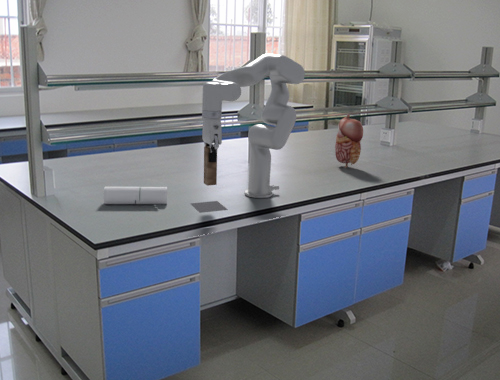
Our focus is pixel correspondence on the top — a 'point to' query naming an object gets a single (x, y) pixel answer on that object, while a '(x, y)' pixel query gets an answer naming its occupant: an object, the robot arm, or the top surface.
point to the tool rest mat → (208, 206)
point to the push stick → (209, 169)
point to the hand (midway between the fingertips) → (210, 160)
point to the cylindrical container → (135, 195)
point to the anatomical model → (348, 140)
